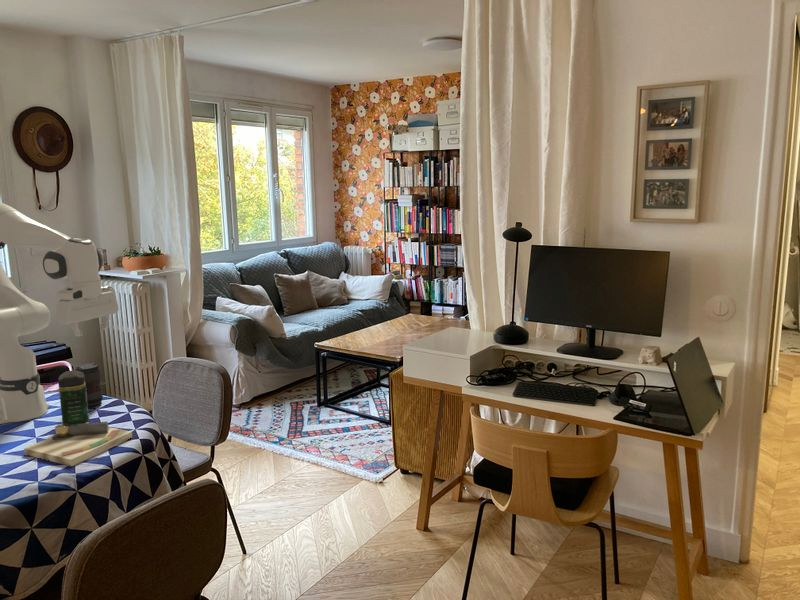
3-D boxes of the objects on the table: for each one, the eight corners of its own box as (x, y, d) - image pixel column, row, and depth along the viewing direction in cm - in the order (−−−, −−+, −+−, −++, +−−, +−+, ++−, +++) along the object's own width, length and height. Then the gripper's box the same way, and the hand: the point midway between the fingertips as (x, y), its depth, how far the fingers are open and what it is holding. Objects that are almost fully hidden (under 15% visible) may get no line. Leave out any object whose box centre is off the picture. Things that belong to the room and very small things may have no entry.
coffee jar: (89, 429, 206) (83, 375, 202) (62, 433, 203) (56, 378, 199) (90, 419, 215) (84, 367, 211) (64, 423, 211) (58, 370, 208)
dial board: (24, 454, 187) (23, 447, 187) (87, 428, 207) (86, 421, 206) (72, 466, 179) (71, 459, 179) (132, 437, 199) (131, 431, 198)
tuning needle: (54, 438, 193) (53, 428, 192) (58, 433, 197) (57, 424, 196) (106, 433, 196) (105, 424, 195) (109, 429, 199) (108, 420, 199)
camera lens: (97, 400, 233) (93, 361, 231) (107, 404, 228) (103, 365, 225) (75, 406, 227) (70, 366, 224) (85, 411, 222) (80, 370, 219)
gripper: (106, 284, 207) (111, 325, 209) (50, 294, 189) (56, 339, 191) (120, 285, 204) (125, 326, 207) (65, 295, 186) (71, 340, 189)
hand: (91, 332), depth 199 cm, fingers open, 8 cm apart
